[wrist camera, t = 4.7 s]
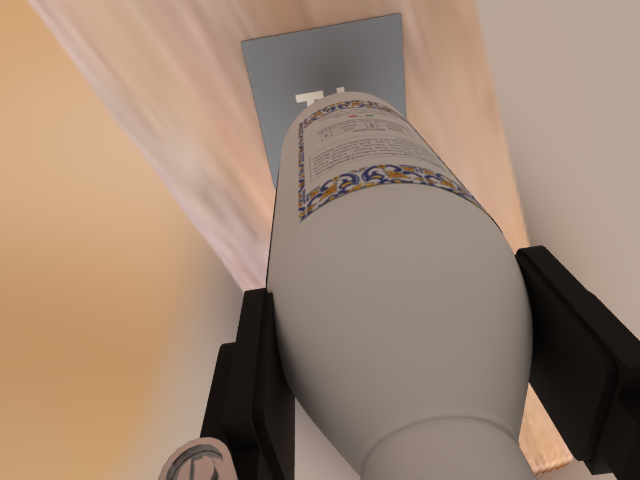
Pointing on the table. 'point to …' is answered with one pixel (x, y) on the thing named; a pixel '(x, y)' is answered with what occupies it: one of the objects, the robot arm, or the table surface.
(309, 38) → the tile
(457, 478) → the bath foam
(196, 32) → the table surface
